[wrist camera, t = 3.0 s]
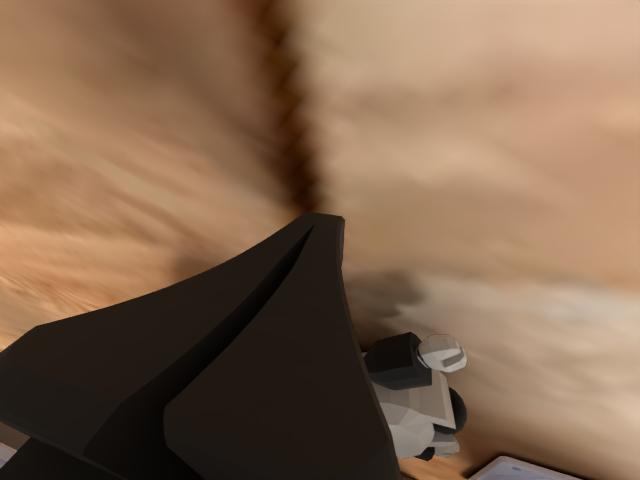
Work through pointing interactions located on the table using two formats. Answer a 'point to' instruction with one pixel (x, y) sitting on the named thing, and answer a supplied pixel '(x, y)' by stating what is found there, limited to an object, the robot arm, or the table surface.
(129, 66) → the table surface
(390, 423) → the robot toy
